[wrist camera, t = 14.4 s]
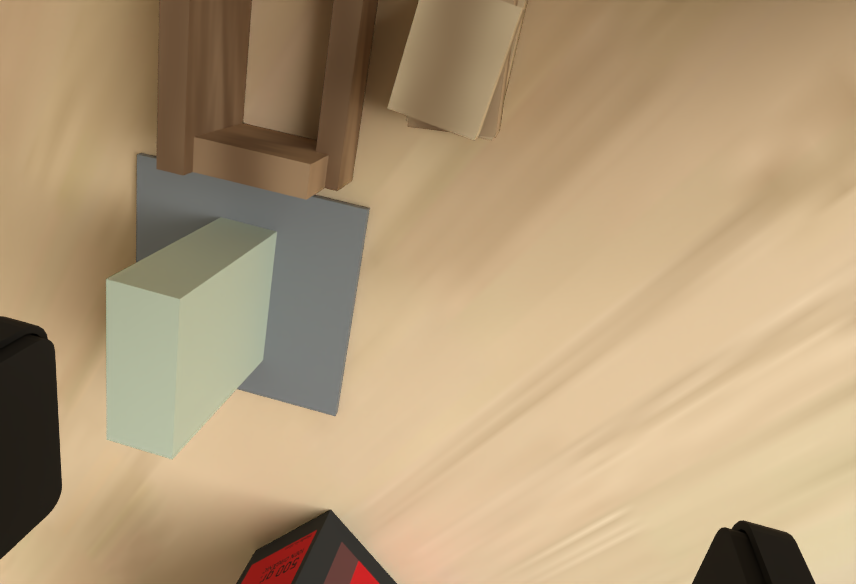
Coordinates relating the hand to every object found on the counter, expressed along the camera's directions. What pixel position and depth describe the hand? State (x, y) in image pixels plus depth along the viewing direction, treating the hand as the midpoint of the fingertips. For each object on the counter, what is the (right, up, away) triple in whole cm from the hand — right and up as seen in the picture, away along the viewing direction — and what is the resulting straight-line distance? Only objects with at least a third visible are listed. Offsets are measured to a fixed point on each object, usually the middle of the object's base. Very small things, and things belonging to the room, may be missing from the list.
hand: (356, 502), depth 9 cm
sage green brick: (-12, +3, +36) cm, 38 cm away
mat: (-12, +3, +37) cm, 39 cm away
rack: (-7, +19, +29) cm, 35 cm away
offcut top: (+3, +14, +23) cm, 27 cm away
